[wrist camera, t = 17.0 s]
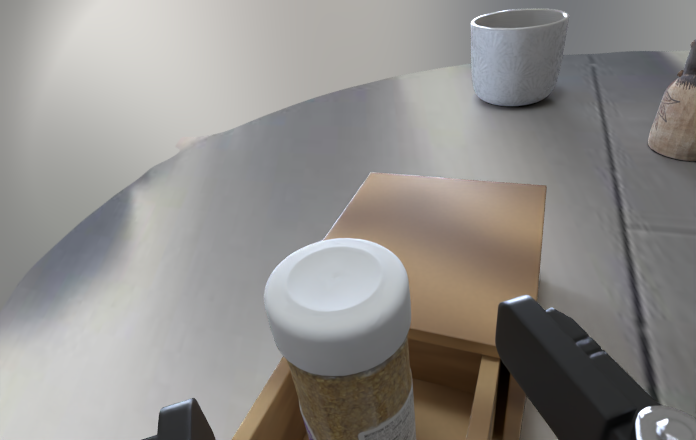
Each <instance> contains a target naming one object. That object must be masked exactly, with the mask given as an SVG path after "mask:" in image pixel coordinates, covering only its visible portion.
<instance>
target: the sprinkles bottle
mask: <svg viewBox="0 0 696 440" xmlns="http://www.w3.org/2000/svg"><path fill="white" fill-rule="evenodd" d="M264 305H265V310H266V313H267V317H268V321H269V325H270V328H271V331H272V334H273V337H274V341H275V343H276V345H277V347H278V349H279V351H280V352H281V353H282V355H283V356H284V357H285V358H286V360H287V363H288V365H289V368H290V371H291V375H292V378H293V381H294V385H295V388H296V392H297V395H298V399H299V406H300V411H301V414H302V417H303V420H304V424H305V427H306V430H307V433H308V436H309V440H416V427H415V411H414V397H413V383H412V373H411V369H410V364H409V350H408V339H407V336H408V331H409V328H410V324H411V301H410V290H409V281H408V276H407V272H406V269H405V268H404V266H403V264H402V262H401V261H400V260H399V258H398V257H397V256H396V255H395V254H393V253H392V252H391V251H390V250H388V249H387V248H385V247H383V246H381V245H379V244H377V243H374V242H371V241H367V240H362V239H354V238H337V239H329V240H324V241H320V242H317V243H313V244H311V245H308V246H306V247H303V248H301V249H299V250H297V251H296V252H294V253H292V254H291V255H289V256H288V257H287V258H285V259H284V260H283V261H282V262H281V263H280V264H279V265H278V266H277V267H276V268H275V269H274V271H273V272H272V274H271V275H270V277H269V279H268V281H267V284H266V287H265V292H264Z"/></svg>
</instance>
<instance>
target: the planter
mask: <svg viewBox="0 0 696 440" xmlns="http://www.w3.org/2000/svg"><path fill="white" fill-rule="evenodd" d="M568 21H569V15H568V13H566V12H564V11H560V10H554V9H515V10H507V11H500V12H494V13H490V14H486V15H482V16H479V17H477V18H475V19H474V20H473V21H472V22H471V68H472V82H473V87H474V91H475V93H476V94H477V96H478V97H479V98H480V99H482V100H483V101H485V102H488V103H490V104H494V105H500V106H522V105H528V104H532V103H536V102H538V101H541V100H543V99H544V98H546V97H547V96H548V95H549V94H550V93H551V92H552V91H553V89H554V87H555V85H556V82H557V79H558V75H559V71H560V66H561V61H562V56H563V50H564V45H565V39H566V33H567V27H568Z"/></svg>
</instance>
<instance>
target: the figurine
mask: <svg viewBox="0 0 696 440" xmlns="http://www.w3.org/2000/svg"><path fill="white" fill-rule="evenodd" d="M678 76H679V78H678V79H676V80H675V81H673V82H672V83H671V84H670V85H669V86H668V87H667V89H666V90H665V93H664V95H663V98H662V101H661V104H660V106H659V109H658V112H657V115H656V118H655V120H654V122H653V125H652V128H651V131H650V135H649V139H648V144H649V146H650V148H651V149H653V150H654V151H656V152H657V153H659V154H662V155H664V156H667V157H671V158H674V159H679V160H685V161H696V40H694V41H693V42H692V43H691V50H690V53H689V56H688V58H687V61H686V64H685V68H684V70H681V71H680V72H679V73H678Z"/></svg>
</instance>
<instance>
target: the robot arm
mask: <svg viewBox="0 0 696 440" xmlns="http://www.w3.org/2000/svg"><path fill="white" fill-rule="evenodd" d="M495 344H496V349H497V352H498V354H499V357H500V359H501V360H502V362H503V364H504V365H505V366H506V368H507V369H508V371H509V372H510V373H511V375H512V376H513V377H514V379H515V380H516V382H517V383H518V384H519V386H520V387H521V388H522V390H523V391H524V392H525V394H526V395H527V397H528V398H529V399H530V401H531V402H532V403H533V405H534V406H535V408H536V409H537V410H538V412H539V413H540V414H541V416H542V417H543V418H544V420H545V421H546V423H547V424H548V425H549V427H550V428H551V429H552V431H553V432H554V434H555V435H556V436H557V438H558V439H559V440H696V419H695V418H693V417H692V416H690V415H689V414H687V413H685V412H683V411H681V410H678V409H676V408H672V407H668V406H661V405H660V404H659V403H657V402H656V401H655V400H654V399H653V398H652V397H651V396H650V395H649V394H648V393H647V392H645V391H644V390H643V389H642V388H641V387H640V386H639V385H638V384H637V383H636V382H635V381H634V380H633V379H632V378H631V377H630V376H629V375H628V374H627V373H626V372H625V371H624V370H623V369H622V368H621V367H620V366H619V365H618V364H617V363H616V362H615V361H614V360H613V359H612V358H611V357H610V356H609V355H608V354H607V353H606V352H605V351H604V350H602V349H601V347H600V346H599V345H598V344H597V343H596V342H595V341H594V340H593V339H592V338H590V337H589V336H588V334H587V333H586V332H585V331H584V330H583V329H582V328H581V327H580V326H579V325H578V324H577V323H576V322H575V321H574V320H573V319H572V318H570V317H568V316H566V315H565V314H563V313H561V312H559V311H557V310H556V309H554V308H550V309H547V310H544V309H543V308H542V307H541V306H540V305H539V304H538V303H537V302H536V301H535V299H533V298H532V297H531V296H529V295H522V296H519V297H516V298H513V299H510V300H507V301H503V302H501V303H499V305H498V313H497V324H496V336H495ZM142 440H215V437H214V434H213V431H212V429H211V428H210V426H209V424H208V422H207V420H206V418H205V416H204V414H203V412H202V410H201V408H200V406H199V404H198V402H197V401H196V399H195V398H192V399H189V400H185V401H182V402H179V403H176V404H173V405H170V406H166V407H163V408H162V409H161V410H160V413H159V421H158V433H157V435H155V436H152V437H149V438H146V439H142Z"/></svg>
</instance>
